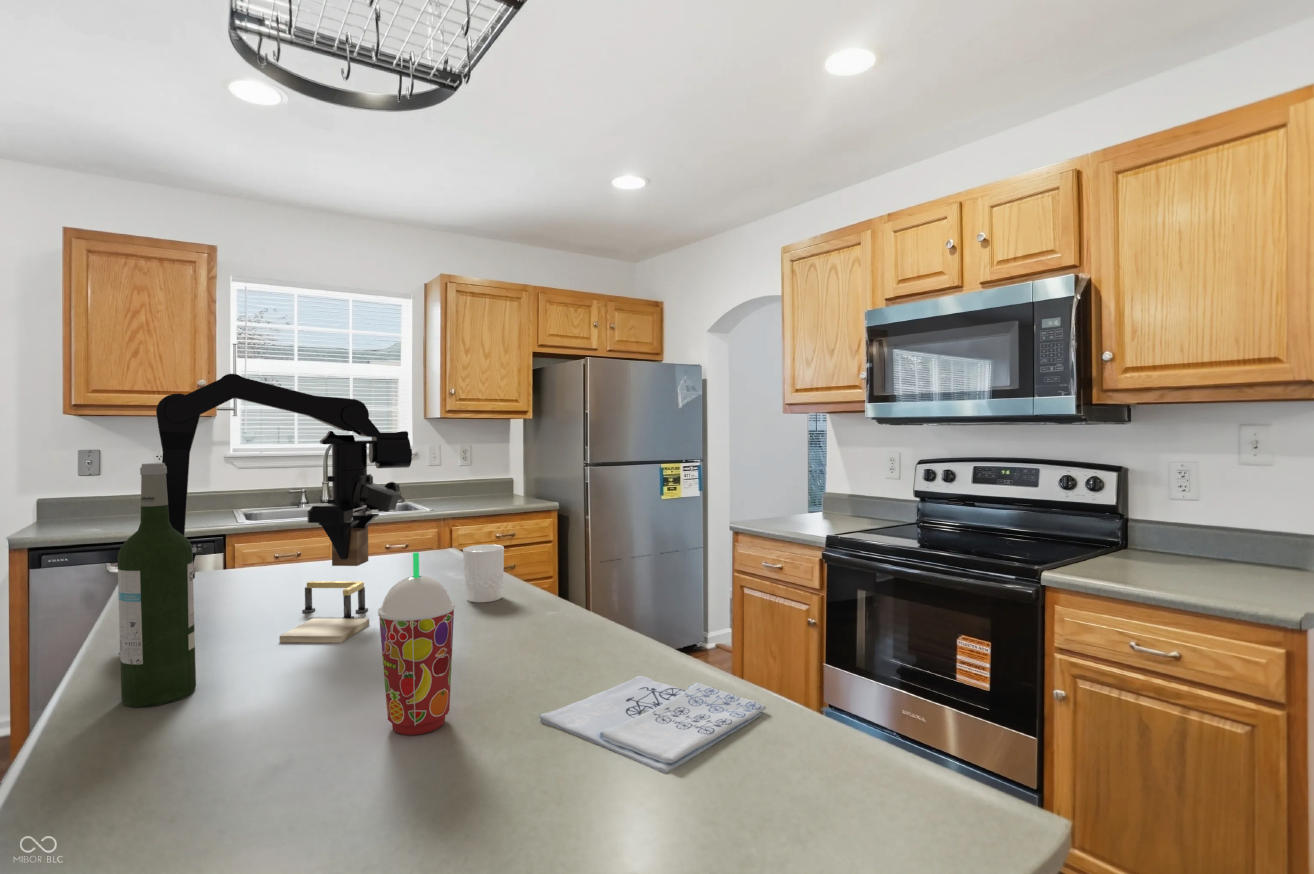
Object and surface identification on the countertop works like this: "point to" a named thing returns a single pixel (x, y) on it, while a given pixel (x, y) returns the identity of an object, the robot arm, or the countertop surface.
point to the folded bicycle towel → (655, 720)
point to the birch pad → (324, 630)
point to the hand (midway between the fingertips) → (350, 556)
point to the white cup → (483, 572)
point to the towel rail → (350, 589)
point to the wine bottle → (156, 603)
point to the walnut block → (354, 549)
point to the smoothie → (417, 652)
